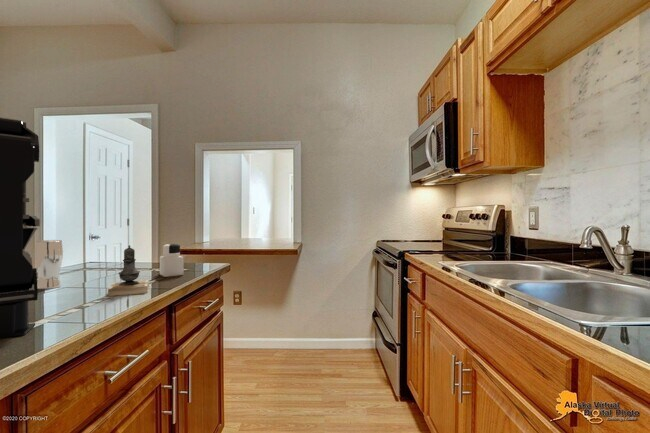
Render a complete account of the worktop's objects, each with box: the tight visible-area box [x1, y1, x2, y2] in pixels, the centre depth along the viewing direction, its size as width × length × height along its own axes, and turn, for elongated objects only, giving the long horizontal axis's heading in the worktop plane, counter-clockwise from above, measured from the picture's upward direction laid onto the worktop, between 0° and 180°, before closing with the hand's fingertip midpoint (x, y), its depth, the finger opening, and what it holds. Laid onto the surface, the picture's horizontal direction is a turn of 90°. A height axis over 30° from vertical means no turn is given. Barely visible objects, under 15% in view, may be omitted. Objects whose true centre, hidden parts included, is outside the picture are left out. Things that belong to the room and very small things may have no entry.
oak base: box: [107, 279, 150, 297], centre depth 103 cm, size 10×10×2 cm
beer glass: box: [34, 239, 64, 290], centre depth 107 cm, size 7×7×15 cm
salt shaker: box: [117, 244, 141, 286], centre depth 103 cm, size 6×6×12 cm
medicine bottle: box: [159, 243, 185, 278], centre depth 131 cm, size 7×7×12 cm
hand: (10, 258), depth 80 cm, fingers open, 9 cm apart
